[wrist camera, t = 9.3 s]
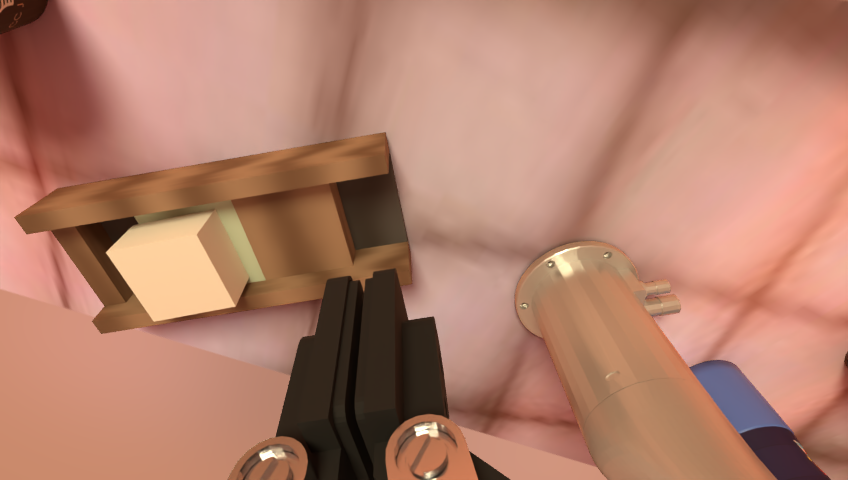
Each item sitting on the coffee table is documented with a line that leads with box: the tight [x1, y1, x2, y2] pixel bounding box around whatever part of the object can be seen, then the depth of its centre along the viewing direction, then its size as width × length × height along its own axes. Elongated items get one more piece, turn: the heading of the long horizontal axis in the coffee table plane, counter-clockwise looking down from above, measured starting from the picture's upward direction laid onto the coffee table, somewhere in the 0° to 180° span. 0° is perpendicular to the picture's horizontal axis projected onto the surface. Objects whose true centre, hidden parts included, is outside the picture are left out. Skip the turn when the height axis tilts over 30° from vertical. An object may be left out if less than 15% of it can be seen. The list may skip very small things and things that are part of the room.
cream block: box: [106, 209, 249, 322], centre depth 36 cm, size 7×7×4 cm
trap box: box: [14, 132, 412, 334], centre depth 38 cm, size 28×12×5 cm, turn 99°
